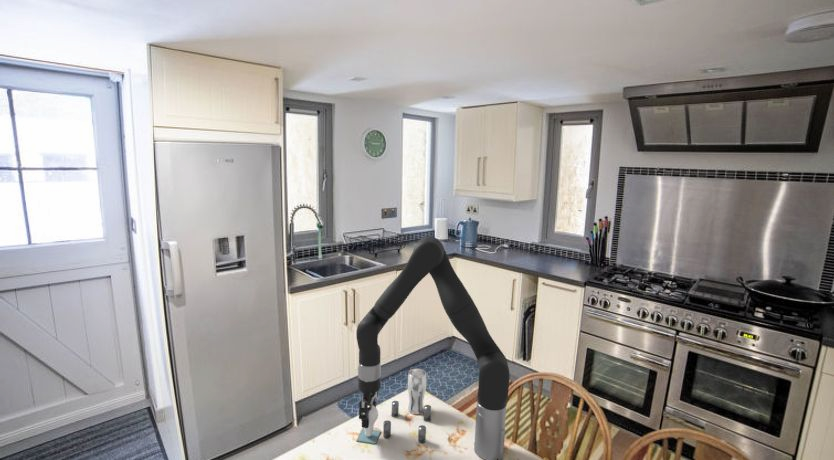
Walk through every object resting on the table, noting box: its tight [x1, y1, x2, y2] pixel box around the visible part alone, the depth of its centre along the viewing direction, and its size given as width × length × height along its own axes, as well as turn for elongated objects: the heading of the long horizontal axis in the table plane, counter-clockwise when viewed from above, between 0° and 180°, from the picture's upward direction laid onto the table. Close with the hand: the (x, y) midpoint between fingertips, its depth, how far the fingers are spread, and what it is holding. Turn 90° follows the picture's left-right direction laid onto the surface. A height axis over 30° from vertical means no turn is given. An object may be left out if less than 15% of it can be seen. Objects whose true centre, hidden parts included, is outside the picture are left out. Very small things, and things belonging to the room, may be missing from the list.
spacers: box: [382, 400, 432, 445], centre depth 142 cm, size 14×14×5 cm
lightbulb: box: [360, 405, 379, 437], centre depth 136 cm, size 6×6×11 cm
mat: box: [356, 427, 381, 445], centre depth 137 cm, size 6×6×1 cm
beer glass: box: [407, 368, 427, 415], centre depth 152 cm, size 7×7×15 cm
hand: (369, 419), depth 136 cm, fingers open, 8 cm apart
